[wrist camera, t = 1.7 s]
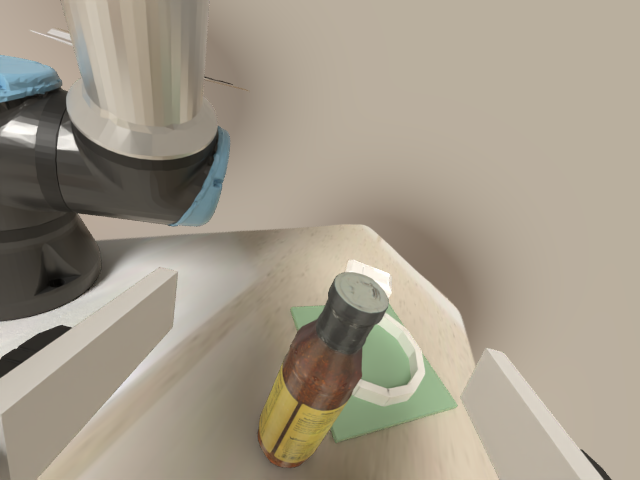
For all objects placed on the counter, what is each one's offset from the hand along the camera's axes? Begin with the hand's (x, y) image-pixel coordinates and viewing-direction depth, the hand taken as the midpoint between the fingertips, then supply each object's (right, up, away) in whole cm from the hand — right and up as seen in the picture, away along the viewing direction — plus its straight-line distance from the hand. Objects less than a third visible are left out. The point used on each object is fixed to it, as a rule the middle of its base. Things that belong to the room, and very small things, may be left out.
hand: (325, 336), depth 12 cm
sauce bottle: (-4, -16, +17) cm, 23 cm away
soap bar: (+8, -4, +44) cm, 45 cm away
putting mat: (+6, -12, +29) cm, 32 cm away
